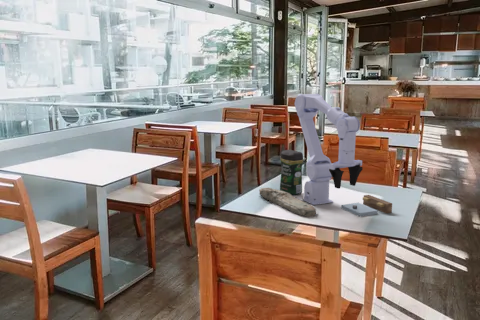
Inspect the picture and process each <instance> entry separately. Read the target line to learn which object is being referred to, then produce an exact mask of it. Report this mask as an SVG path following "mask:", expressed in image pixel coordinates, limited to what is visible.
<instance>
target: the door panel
mask: <svg viewBox="0 0 480 320" xmlns="http://www.w3.org/2000/svg"><path fill="white" fill-rule="evenodd" d="M341 209H342V210H345V211H347V212H349V213H351V214H354V215H355V216H357V215H358V217H360V216H361V217H366V216H373V215H378V211H379V210H377V209H374V208H372V207H369V206H367V205H364V204H363V203H360V202H352V203H347V204H341Z"/></svg>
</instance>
